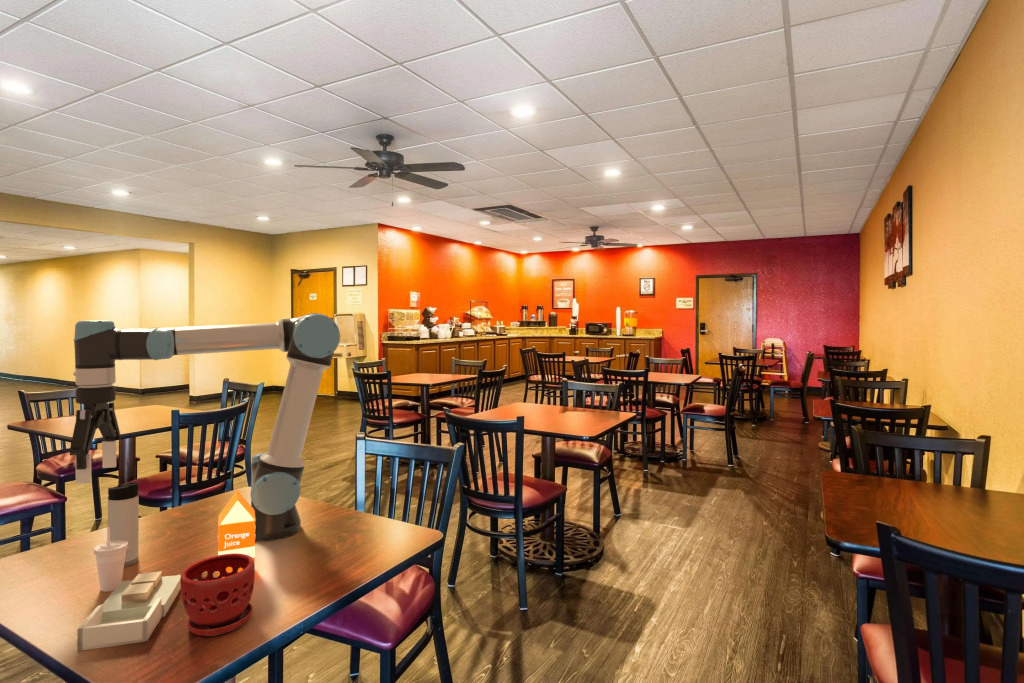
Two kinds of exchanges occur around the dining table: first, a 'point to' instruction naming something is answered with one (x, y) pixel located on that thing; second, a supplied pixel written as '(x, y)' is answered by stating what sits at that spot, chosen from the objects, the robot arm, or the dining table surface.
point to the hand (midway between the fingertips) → (97, 474)
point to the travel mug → (124, 518)
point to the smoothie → (110, 562)
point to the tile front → (137, 593)
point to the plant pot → (218, 593)
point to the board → (127, 611)
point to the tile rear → (148, 578)
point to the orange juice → (237, 528)
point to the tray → (117, 629)
